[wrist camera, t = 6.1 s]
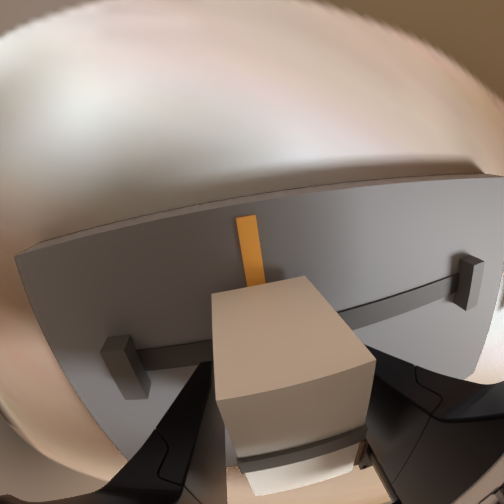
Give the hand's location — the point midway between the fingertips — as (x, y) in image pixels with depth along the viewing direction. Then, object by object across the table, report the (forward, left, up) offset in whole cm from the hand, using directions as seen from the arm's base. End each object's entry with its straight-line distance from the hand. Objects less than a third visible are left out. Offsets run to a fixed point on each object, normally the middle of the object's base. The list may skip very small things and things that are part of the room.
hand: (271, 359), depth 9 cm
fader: (0, 0, -1) cm, 1 cm away
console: (-2, -3, -3) cm, 5 cm away
